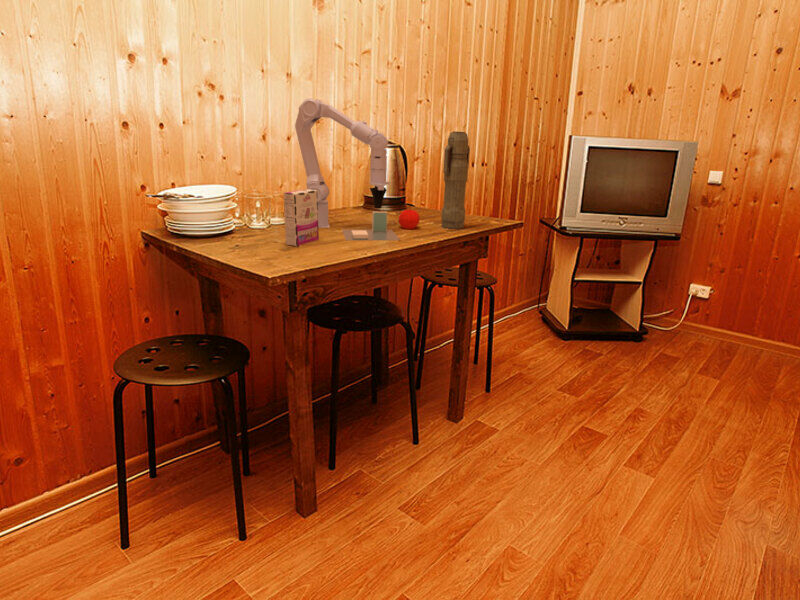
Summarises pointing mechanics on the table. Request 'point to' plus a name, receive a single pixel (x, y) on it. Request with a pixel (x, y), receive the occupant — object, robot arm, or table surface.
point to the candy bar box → (301, 217)
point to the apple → (409, 219)
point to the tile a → (359, 234)
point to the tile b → (379, 222)
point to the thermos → (455, 180)
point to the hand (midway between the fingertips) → (377, 208)
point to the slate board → (373, 235)
